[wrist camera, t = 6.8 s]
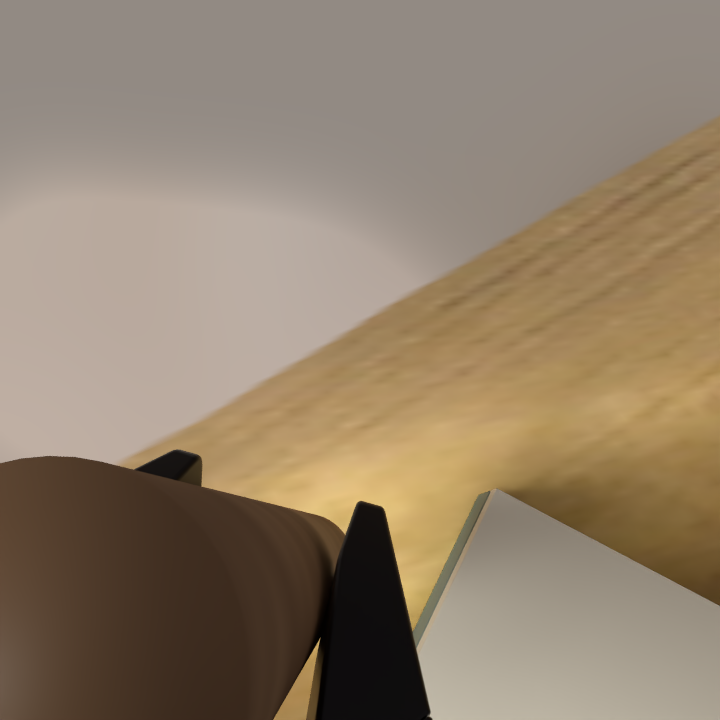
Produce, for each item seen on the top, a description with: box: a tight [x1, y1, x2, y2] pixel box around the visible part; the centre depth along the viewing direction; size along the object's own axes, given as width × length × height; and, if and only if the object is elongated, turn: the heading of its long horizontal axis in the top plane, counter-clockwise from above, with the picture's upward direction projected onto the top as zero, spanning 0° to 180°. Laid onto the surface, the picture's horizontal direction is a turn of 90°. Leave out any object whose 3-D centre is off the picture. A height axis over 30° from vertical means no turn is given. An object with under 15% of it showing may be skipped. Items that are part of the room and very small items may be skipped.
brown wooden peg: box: [0, 456, 345, 720], centre depth 9 cm, size 2×2×12 cm
